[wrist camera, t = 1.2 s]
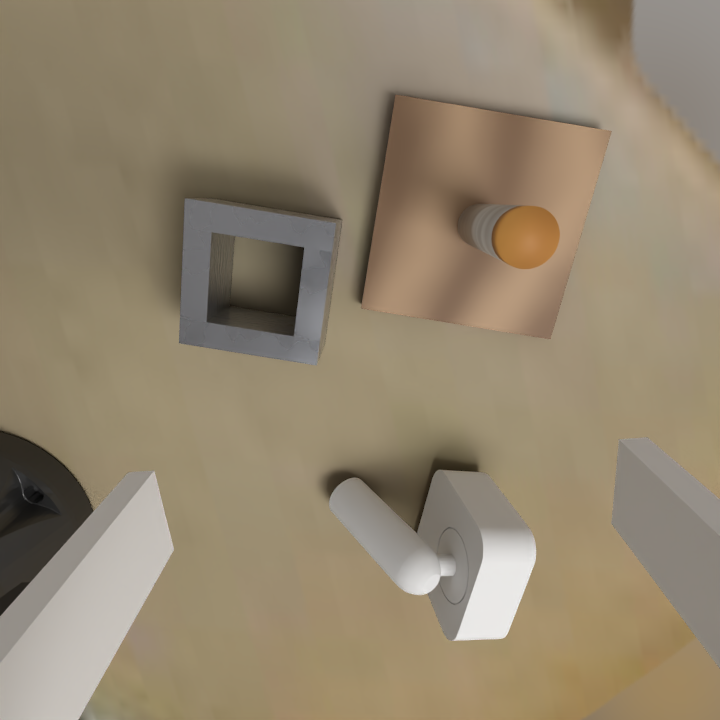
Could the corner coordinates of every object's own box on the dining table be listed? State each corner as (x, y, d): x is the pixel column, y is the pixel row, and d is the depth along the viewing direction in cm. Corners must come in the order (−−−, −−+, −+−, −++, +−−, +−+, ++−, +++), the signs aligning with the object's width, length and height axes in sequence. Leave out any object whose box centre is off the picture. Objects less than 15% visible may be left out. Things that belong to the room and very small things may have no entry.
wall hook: (336, 441, 34) (367, 540, 25) (470, 450, 36) (542, 544, 27) (318, 535, 36) (338, 657, 27) (444, 538, 39) (502, 650, 30)
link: (205, 324, 32) (178, 343, 28) (212, 198, 30) (184, 198, 25) (325, 343, 32) (316, 365, 28) (342, 219, 30) (336, 223, 25)
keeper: (361, 304, 31) (352, 358, 21) (394, 99, 28) (404, 35, 17) (544, 334, 31) (628, 402, 21) (602, 134, 28) (740, 92, 17)
